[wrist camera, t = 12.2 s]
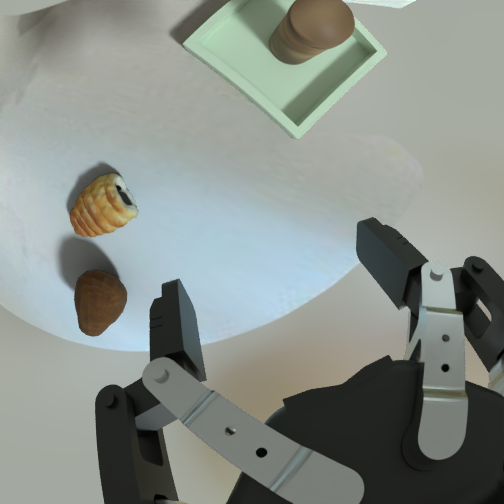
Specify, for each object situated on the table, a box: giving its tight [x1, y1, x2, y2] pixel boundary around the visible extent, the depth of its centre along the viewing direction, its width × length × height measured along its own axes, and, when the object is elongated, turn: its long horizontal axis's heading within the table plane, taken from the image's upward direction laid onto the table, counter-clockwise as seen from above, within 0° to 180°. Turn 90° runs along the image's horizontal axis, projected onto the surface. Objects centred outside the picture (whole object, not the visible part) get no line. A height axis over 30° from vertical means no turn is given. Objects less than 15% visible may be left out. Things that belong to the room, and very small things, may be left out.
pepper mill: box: [269, 0, 355, 65], centre depth 20 cm, size 5×5×11 cm
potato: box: [74, 270, 127, 336], centre depth 34 cm, size 7×10×8 cm
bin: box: [183, 0, 388, 140], centre depth 24 cm, size 16×16×3 cm
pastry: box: [70, 173, 138, 237], centre depth 30 cm, size 9×7×4 cm
